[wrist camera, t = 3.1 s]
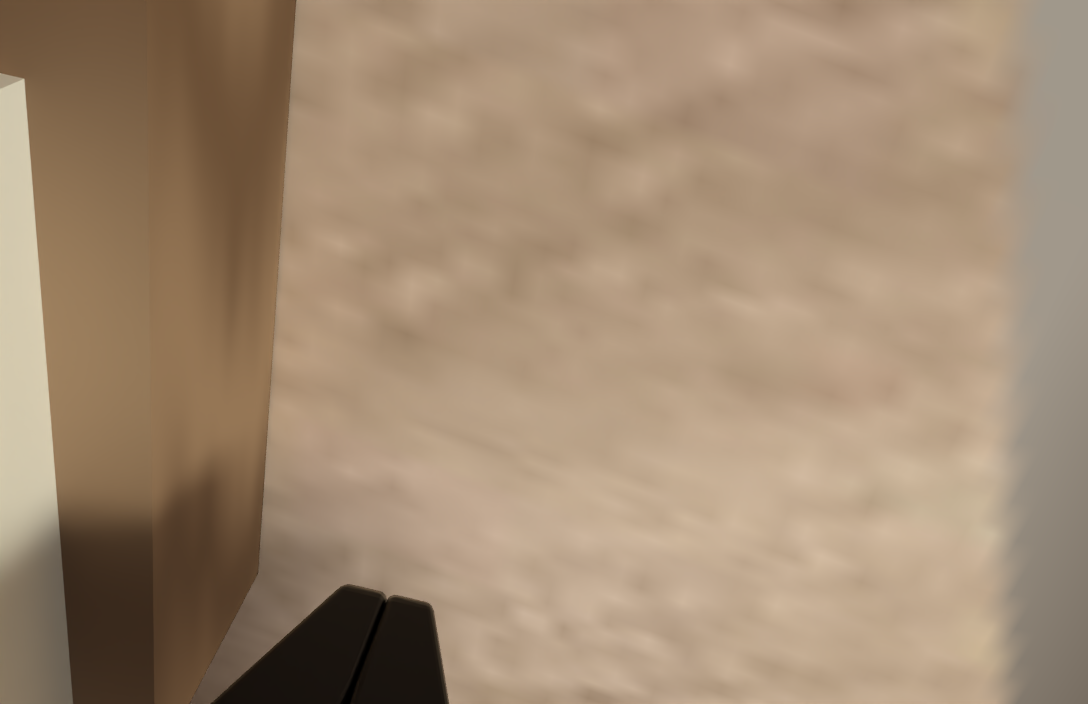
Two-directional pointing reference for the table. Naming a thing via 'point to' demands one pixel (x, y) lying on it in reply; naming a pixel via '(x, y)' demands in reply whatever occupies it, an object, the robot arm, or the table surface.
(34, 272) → the ivory block
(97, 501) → the deck
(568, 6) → the table surface
